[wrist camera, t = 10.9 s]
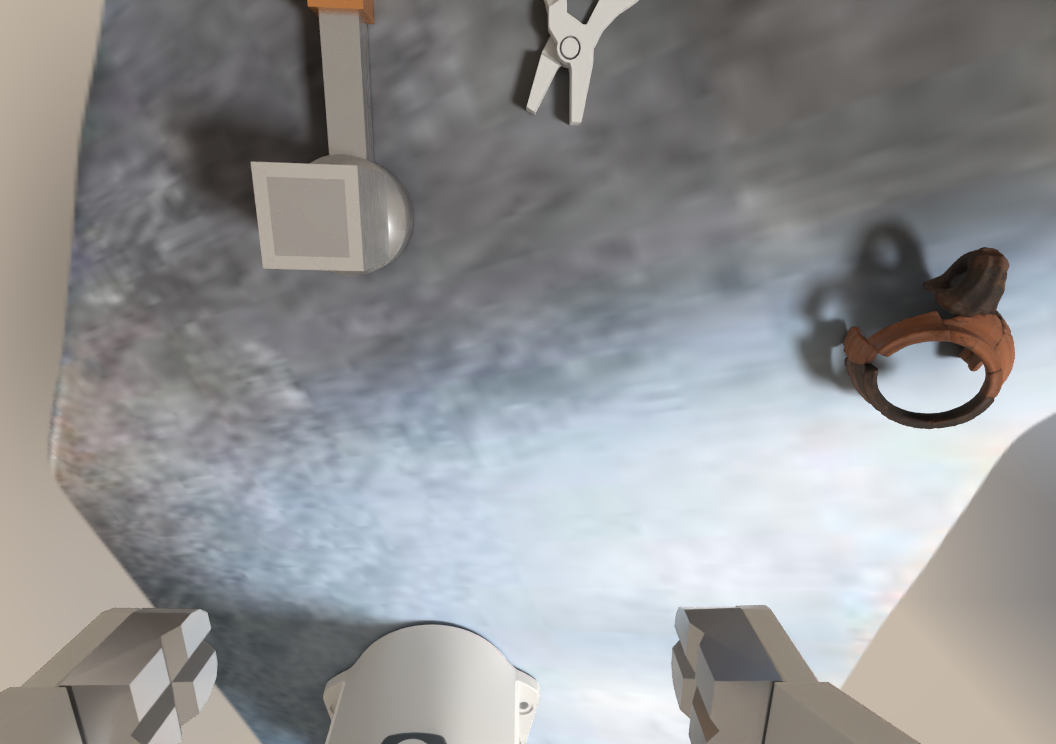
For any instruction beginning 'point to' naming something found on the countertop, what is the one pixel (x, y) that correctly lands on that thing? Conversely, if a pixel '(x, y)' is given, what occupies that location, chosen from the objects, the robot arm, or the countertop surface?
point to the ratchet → (356, 108)
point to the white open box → (321, 216)
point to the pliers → (572, 51)
